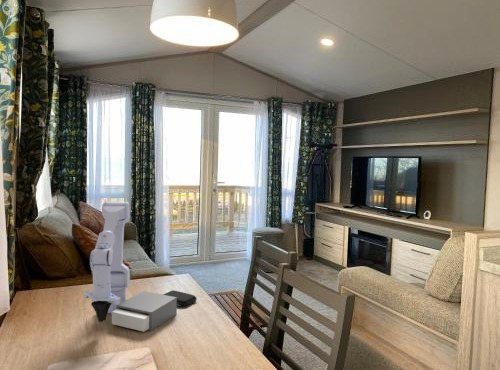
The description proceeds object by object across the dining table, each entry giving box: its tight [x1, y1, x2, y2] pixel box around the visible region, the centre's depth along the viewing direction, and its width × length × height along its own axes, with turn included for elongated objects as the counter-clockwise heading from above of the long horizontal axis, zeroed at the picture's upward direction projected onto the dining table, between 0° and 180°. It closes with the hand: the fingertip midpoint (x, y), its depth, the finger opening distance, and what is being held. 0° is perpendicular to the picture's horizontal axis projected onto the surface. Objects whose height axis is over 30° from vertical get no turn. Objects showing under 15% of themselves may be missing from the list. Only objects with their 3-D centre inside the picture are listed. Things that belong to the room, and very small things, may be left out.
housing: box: [116, 290, 178, 331], centre depth 145 cm, size 16×16×7 cm
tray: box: [111, 309, 149, 332], centre depth 141 cm, size 14×14×5 cm
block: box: [131, 310, 149, 316], centre depth 141 cm, size 4×4×4 cm
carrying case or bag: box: [162, 290, 198, 308], centre depth 163 cm, size 11×3×15 cm
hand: (102, 320), depth 132 cm, fingers closed
